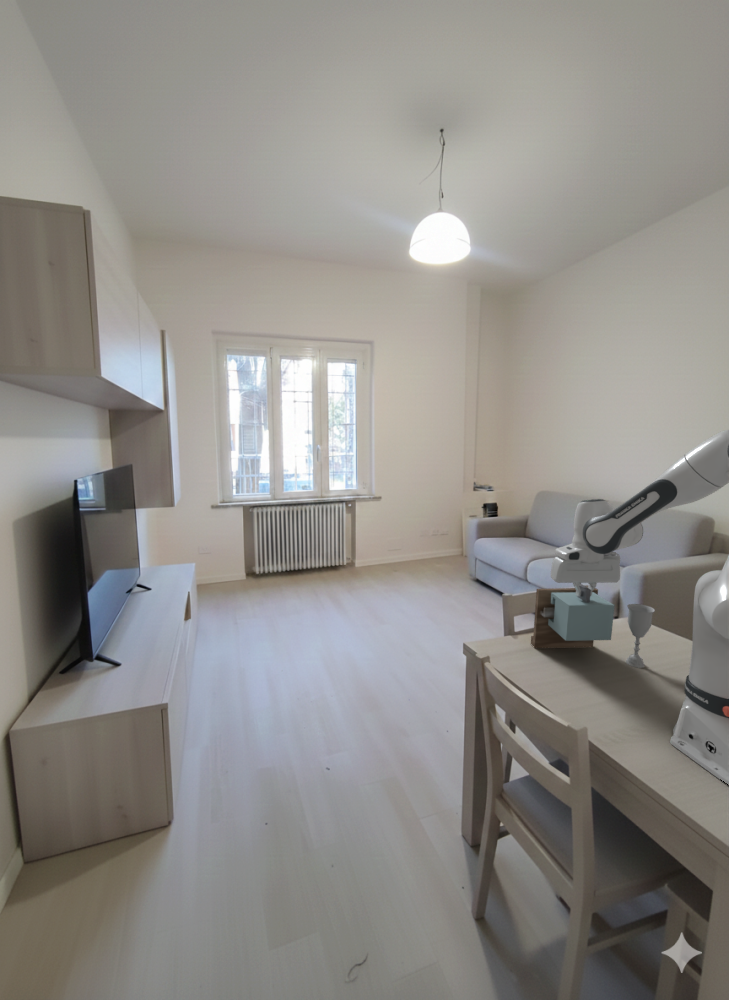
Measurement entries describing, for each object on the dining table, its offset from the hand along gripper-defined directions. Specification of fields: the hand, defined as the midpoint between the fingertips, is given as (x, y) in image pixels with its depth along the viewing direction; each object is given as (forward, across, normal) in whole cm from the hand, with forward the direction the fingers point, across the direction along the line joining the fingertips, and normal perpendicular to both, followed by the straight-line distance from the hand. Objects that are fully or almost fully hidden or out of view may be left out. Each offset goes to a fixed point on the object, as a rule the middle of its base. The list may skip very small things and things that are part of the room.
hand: (583, 595), depth 136 cm
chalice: (+21, -17, +3) cm, 27 cm away
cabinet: (+12, 0, -1) cm, 12 cm away
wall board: (+21, 0, -8) cm, 23 cm away
